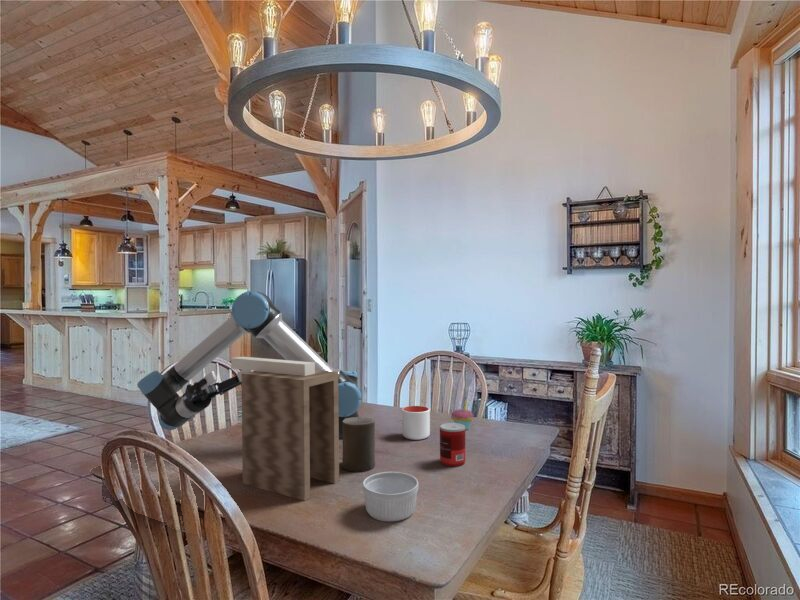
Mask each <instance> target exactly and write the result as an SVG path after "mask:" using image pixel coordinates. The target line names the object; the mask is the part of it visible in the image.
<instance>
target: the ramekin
mask: <svg viewBox="0 0 800 600" xmlns="http://www.w3.org/2000/svg"><path fill="white" fill-rule="evenodd" d="M362 491H363V496H364V497H363V498H364V505H365V509H366V512H367V513H368V514H369V515H370V517H372V518H373V519H375V520H378V521H381V522H393V523H394V522H399V521H403V520H405V519H408V518H410V517H411V516H412V515H413V513H414V512H415V510H416V506H417V498H418V491H419V481H418V479H417V478H416V477H415V476H414V475H412V474H409V473H406V472H401V471H383V472H377V473H374V474H371V475H369V476H367V477H366V478H365V479H363V481H362Z"/></svg>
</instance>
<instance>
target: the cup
mask: <svg viewBox="0 0 800 600" xmlns="http://www.w3.org/2000/svg"><path fill="white" fill-rule="evenodd" d="M401 433H402V436H403V437H404V438H406V439H408V440H412V441H413V440H414V441H417V440H419V441H420V440H425V439H427V438H429V437H430V435H431V409H430V407H427V406H424V405H409V406H405V407H402V408H401Z"/></svg>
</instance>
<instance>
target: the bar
mask: <svg viewBox="0 0 800 600" xmlns="http://www.w3.org/2000/svg"><path fill="white" fill-rule="evenodd" d="M230 366H231V367H230V369H234V370H241V371H242V370H252V371H262V372H272V373H282V374H291V375H301V376H306V375H311V374H315V362H303V361H291V360H286V359H277V358H276V359H275V358H263V357H251V356H236V357H230Z"/></svg>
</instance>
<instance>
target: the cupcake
mask: <svg viewBox="0 0 800 600" xmlns="http://www.w3.org/2000/svg"><path fill="white" fill-rule="evenodd" d="M467 405H468V397H466V398H465V401H464V407H463V409H462V408H461V409H455V410H453V412H451V414H450V419H451V420H452V421H453V423H459V424H462V425H464V426H465V431H466V430H469V428H470V425H471V422H472V421H473V420H474V416H475V415H474V414H473V413H472V412H471V411H470V410H468V409H467Z"/></svg>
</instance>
